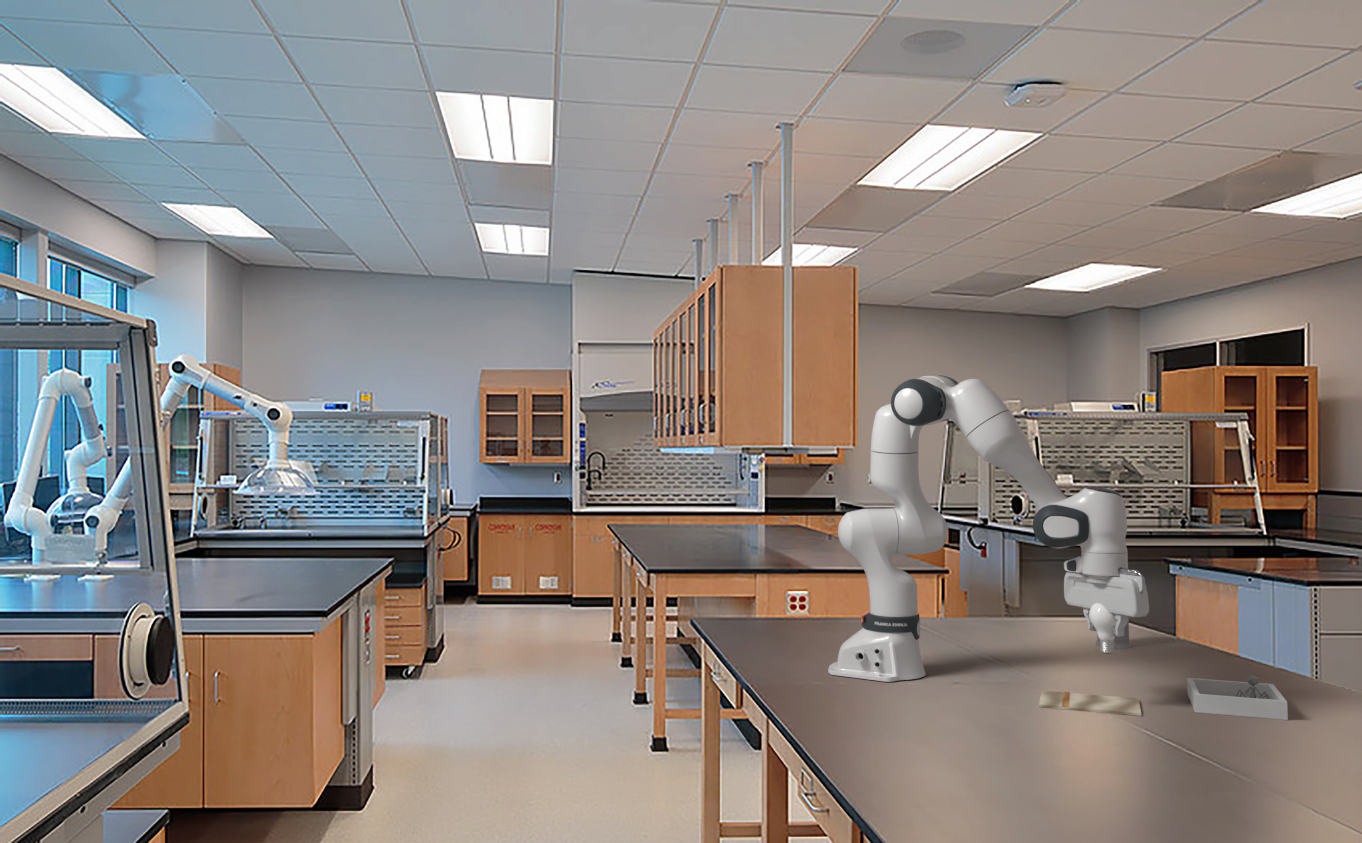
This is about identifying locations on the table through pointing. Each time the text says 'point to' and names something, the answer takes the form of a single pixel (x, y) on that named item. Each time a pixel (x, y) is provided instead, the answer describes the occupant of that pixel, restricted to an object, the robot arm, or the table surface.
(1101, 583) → the robot arm
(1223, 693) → the specimen tray
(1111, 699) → the board
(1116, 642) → the glass holder
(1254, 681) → the bacteriophage
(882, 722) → the table surface
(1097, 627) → the lightbulb
